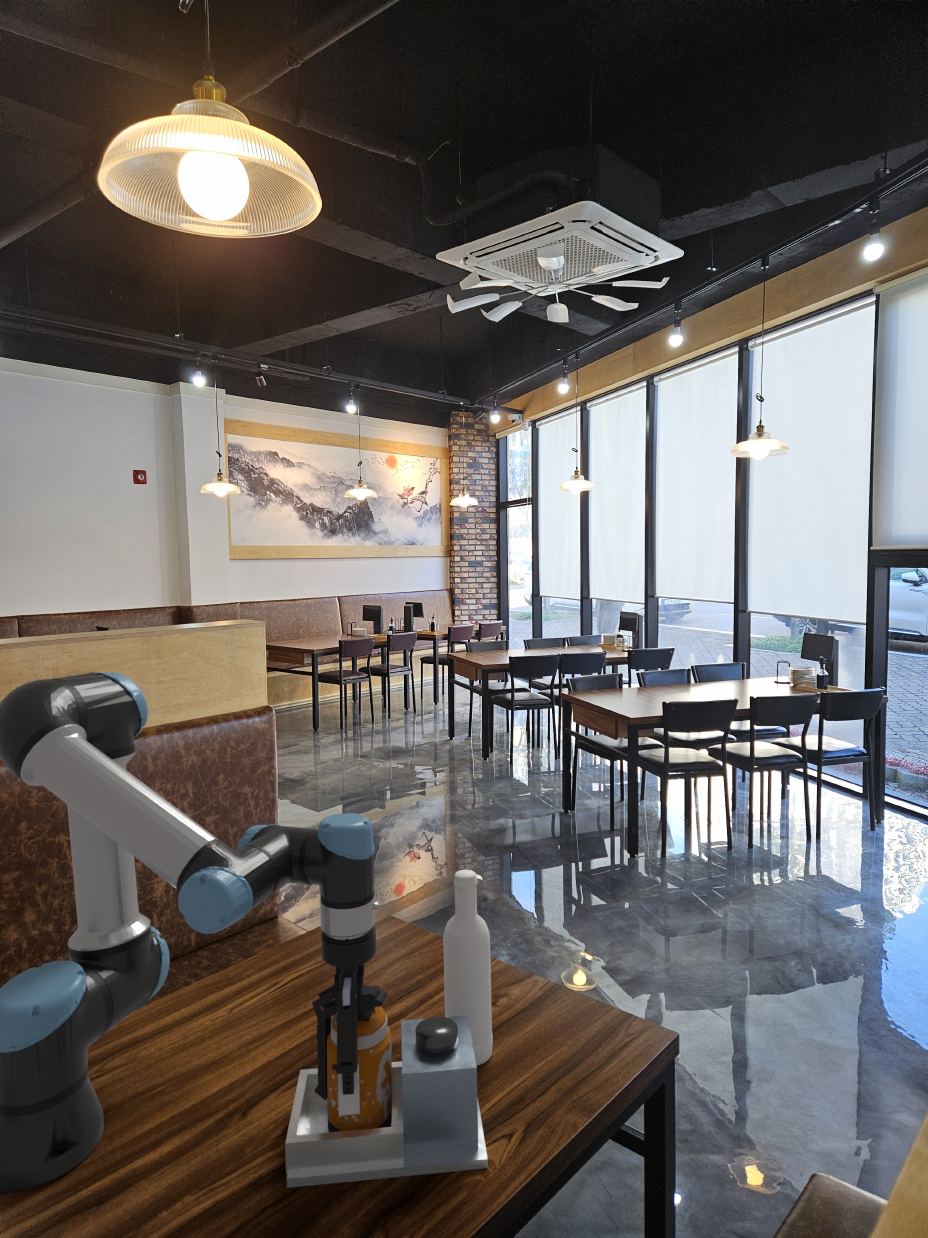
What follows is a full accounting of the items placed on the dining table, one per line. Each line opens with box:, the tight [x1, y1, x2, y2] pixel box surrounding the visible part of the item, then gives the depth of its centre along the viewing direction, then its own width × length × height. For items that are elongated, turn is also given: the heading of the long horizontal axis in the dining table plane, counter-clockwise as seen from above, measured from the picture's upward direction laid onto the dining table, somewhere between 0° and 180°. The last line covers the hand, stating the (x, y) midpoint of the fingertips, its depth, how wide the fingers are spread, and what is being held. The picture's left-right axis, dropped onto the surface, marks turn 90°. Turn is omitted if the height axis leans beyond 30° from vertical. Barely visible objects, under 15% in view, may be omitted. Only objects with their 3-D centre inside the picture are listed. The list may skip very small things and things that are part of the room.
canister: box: [311, 984, 393, 1133], centre depth 99 cm, size 9×11×20 cm
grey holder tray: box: [284, 1015, 489, 1189], centre depth 99 cm, size 26×16×14 cm, turn 96°
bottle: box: [442, 869, 494, 1067], centre depth 116 cm, size 8×8×30 cm
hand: (352, 1081), depth 99 cm, fingers open, 11 cm apart
